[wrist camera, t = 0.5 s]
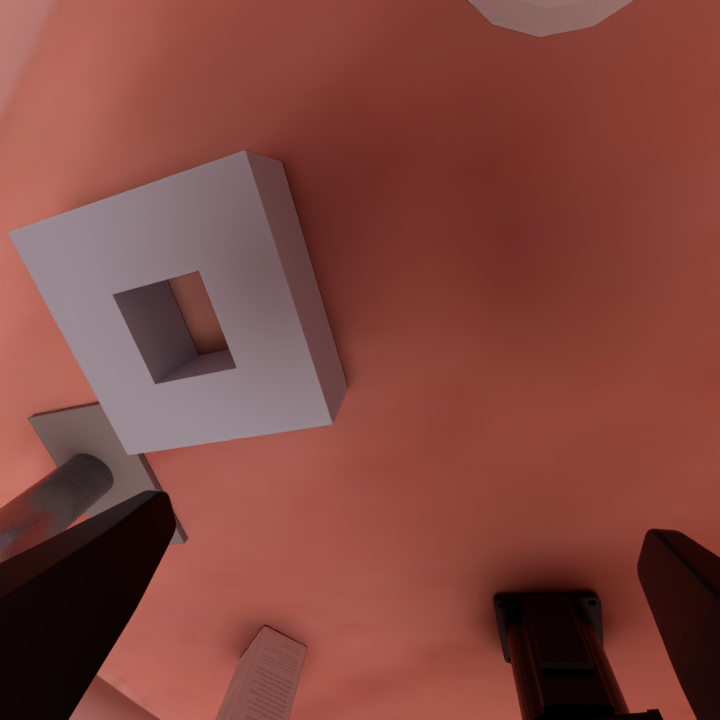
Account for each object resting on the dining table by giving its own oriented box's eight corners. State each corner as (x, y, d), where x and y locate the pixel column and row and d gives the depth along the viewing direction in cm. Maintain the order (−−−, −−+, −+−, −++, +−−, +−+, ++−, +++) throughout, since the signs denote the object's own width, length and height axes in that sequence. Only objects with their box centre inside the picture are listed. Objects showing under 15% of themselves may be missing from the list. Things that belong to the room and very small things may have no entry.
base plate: (187, 539, 29) (184, 543, 28) (112, 545, 30) (109, 549, 30) (114, 399, 25) (109, 402, 24) (33, 415, 26) (27, 418, 26)
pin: (121, 490, 27) (-100, 697, 16) (84, 494, 28) (-153, 695, 16) (99, 450, 26) (-157, 642, 15) (61, 456, 27) (-210, 643, 15)
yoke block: (347, 388, 22) (332, 424, 18) (172, 418, 24) (127, 455, 21) (281, 161, 18) (245, 150, 14) (81, 228, 21) (7, 232, 17)
